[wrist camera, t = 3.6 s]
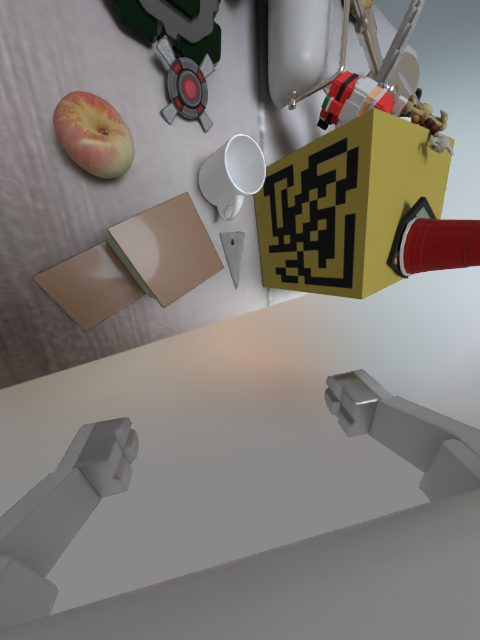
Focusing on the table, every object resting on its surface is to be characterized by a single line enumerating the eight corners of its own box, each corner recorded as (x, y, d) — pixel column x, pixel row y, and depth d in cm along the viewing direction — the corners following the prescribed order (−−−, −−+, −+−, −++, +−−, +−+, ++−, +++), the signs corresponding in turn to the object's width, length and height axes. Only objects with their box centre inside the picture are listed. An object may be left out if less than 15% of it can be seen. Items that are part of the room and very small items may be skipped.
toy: (133, 73, 31) (135, 71, 30) (186, 6, 31) (189, 2, 30) (188, 153, 41) (191, 154, 40) (230, 104, 40) (233, 103, 39)
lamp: (331, 66, 64) (248, -90, 35) (430, 8, 49) (430, -343, 20) (324, 168, 71) (251, 110, 42) (408, 143, 57) (385, 28, 28)
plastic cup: (484, 293, 31) (394, 285, 41) (511, 263, 35) (422, 262, 45) (500, 217, 26) (393, 228, 36) (529, 191, 30) (425, 208, 40)
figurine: (311, 129, 40) (365, 162, 39) (332, 77, 34) (397, 115, 33) (328, 113, 43) (378, 143, 43) (351, 63, 37) (410, 97, 36)
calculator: (386, 263, 38) (405, 263, 36) (405, 199, 37) (426, 195, 35) (402, 278, 44) (420, 278, 41) (419, 222, 43) (439, 220, 41)
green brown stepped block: (32, 273, 31) (-4, 279, 19) (157, 214, 39) (187, 191, 27) (87, 329, 36) (86, 360, 24) (187, 266, 44) (224, 267, 32)
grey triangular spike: (253, 283, 54) (251, 229, 48) (247, 290, 51) (244, 233, 44) (233, 281, 56) (228, 229, 50) (225, 288, 53) (219, 233, 46)
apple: (45, 147, 29) (33, 114, 23) (83, 100, 30) (81, 56, 24) (110, 198, 34) (115, 182, 28) (140, 156, 35) (151, 132, 29)
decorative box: (325, 264, 77) (434, 261, 55) (254, 289, 54) (393, 302, 33) (324, 183, 68) (456, 142, 46) (241, 174, 46) (418, 85, 24)
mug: (197, 221, 43) (224, 211, 34) (196, 153, 40) (225, 124, 32) (232, 227, 48) (263, 219, 39) (234, 167, 45) (267, 144, 36)
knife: (328, 176, 62) (414, -6, 33) (333, 177, 62) (422, -5, 33) (329, 188, 60) (419, 8, 32) (333, 189, 60) (427, 9, 32)
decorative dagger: (374, 73, 47) (412, 154, 35) (387, 51, 44) (434, 131, 32) (408, 93, 49) (454, 175, 37) (422, 74, 46) (478, 155, 34)
